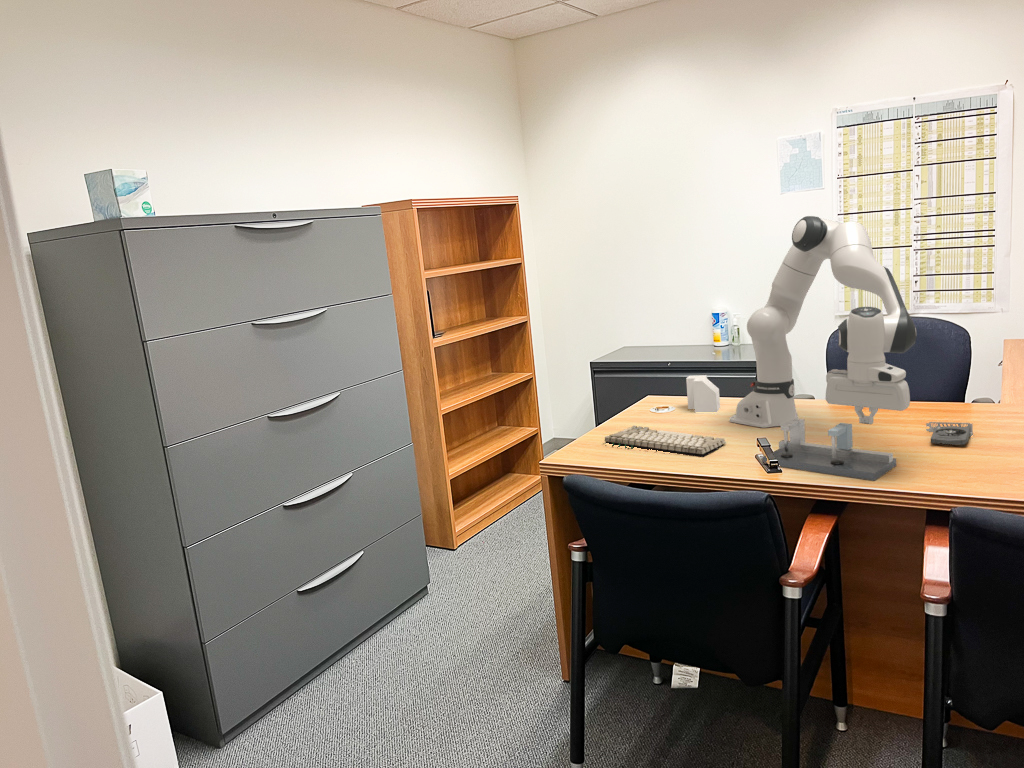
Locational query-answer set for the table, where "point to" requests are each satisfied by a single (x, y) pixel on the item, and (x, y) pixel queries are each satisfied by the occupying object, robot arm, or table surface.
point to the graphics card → (950, 433)
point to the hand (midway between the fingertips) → (866, 423)
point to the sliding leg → (841, 437)
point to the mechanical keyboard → (665, 441)
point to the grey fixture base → (829, 456)
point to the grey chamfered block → (702, 394)
